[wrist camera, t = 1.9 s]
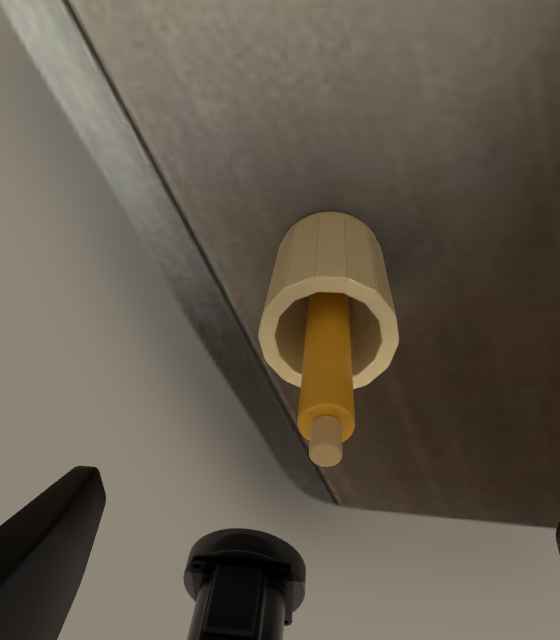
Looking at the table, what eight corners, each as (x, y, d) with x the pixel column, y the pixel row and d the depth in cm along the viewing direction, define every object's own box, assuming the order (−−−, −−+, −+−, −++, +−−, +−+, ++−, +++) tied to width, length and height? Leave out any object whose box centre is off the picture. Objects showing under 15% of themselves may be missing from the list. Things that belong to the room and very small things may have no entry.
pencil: (345, 283, 19) (354, 480, 11) (311, 282, 19) (294, 475, 11) (347, 251, 18) (359, 435, 10) (312, 250, 18) (295, 431, 10)
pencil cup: (377, 309, 20) (391, 397, 15) (276, 304, 20) (259, 389, 15) (388, 212, 18) (408, 279, 13) (275, 209, 18) (255, 273, 13)
